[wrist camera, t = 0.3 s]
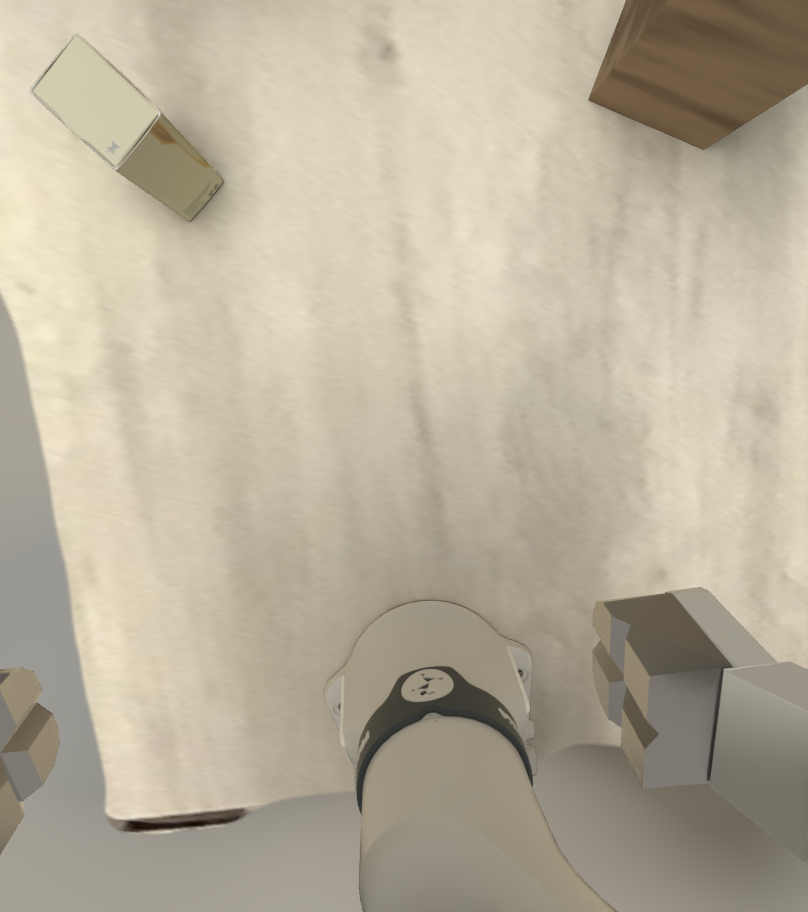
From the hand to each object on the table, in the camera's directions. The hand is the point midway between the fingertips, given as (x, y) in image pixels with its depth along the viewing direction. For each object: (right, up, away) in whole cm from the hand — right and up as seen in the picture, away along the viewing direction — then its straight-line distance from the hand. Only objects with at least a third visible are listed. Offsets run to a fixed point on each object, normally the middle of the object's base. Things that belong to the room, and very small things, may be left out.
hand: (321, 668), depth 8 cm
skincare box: (-16, +25, +35) cm, 46 cm away
